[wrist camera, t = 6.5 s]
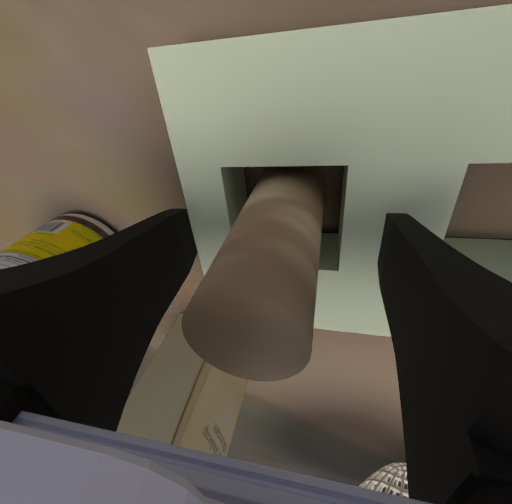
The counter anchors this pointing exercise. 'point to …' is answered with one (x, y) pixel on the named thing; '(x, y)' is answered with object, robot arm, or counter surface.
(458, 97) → the board
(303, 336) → the dowel
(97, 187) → the counter surface
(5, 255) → the supplement bottle
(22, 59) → the counter surface
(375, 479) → the heart
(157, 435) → the skincare box
